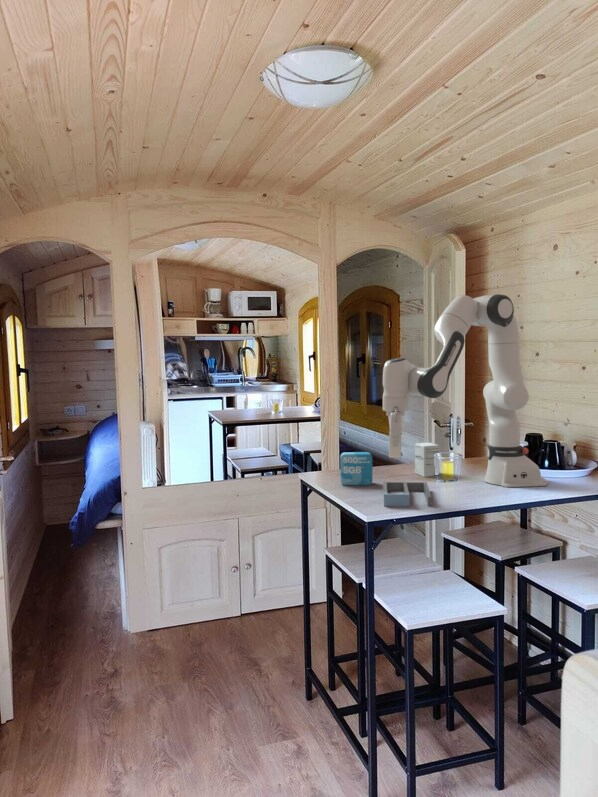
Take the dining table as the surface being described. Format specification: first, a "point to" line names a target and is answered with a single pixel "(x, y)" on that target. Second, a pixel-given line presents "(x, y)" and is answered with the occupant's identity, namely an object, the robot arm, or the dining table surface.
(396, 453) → the beige rectangular block
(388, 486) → the grey open compartment holder
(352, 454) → the data package
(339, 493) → the dining table surface
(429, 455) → the supplement box
